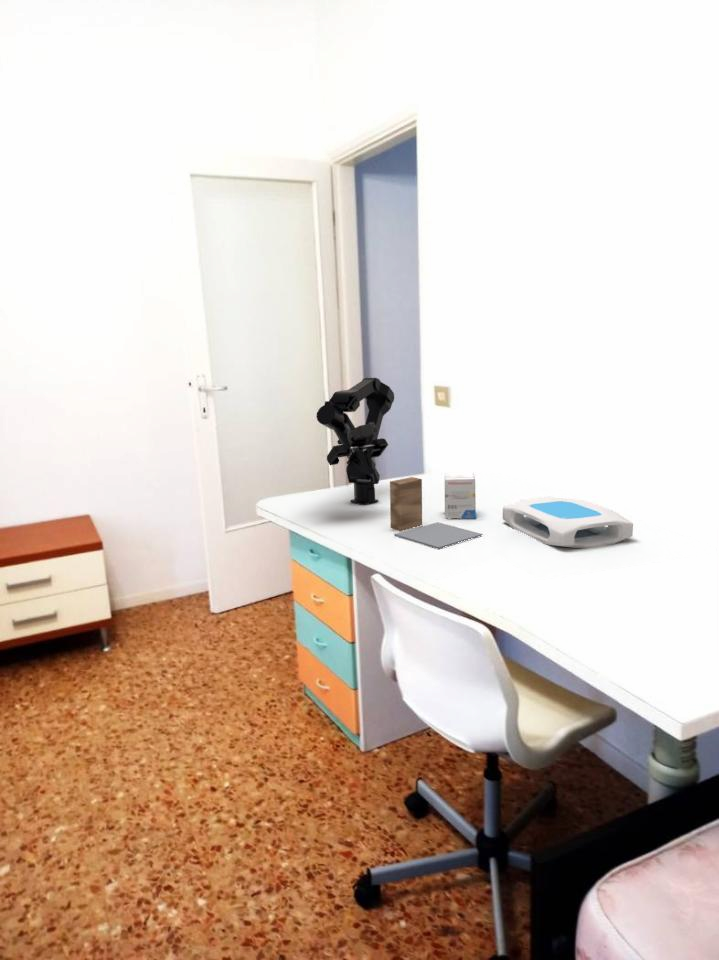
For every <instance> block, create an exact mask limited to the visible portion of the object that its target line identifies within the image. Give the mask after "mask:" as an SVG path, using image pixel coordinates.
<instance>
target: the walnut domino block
mask: <svg viewBox="0 0 719 960" xmlns="http://www.w3.org/2000/svg"><path fill="white" fill-rule="evenodd" d="M422 481H423V479H422V478H418V477H413V476H411V477H405V478H400V479H395V480H391V481H389V499H390V500H389V505H390V508H389V510H390V515H389V516H390V529H391V528H392V530H395V531H398V530H399V532H404V531H407V530H406V529H408V530H411V529H414V528H413V527H415V528H418V527H417V526H419V527H421V526H420V525H422V526H423V491H422V490H423V482H422ZM410 528H411V529H410ZM403 530H404V531H403Z"/></svg>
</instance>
